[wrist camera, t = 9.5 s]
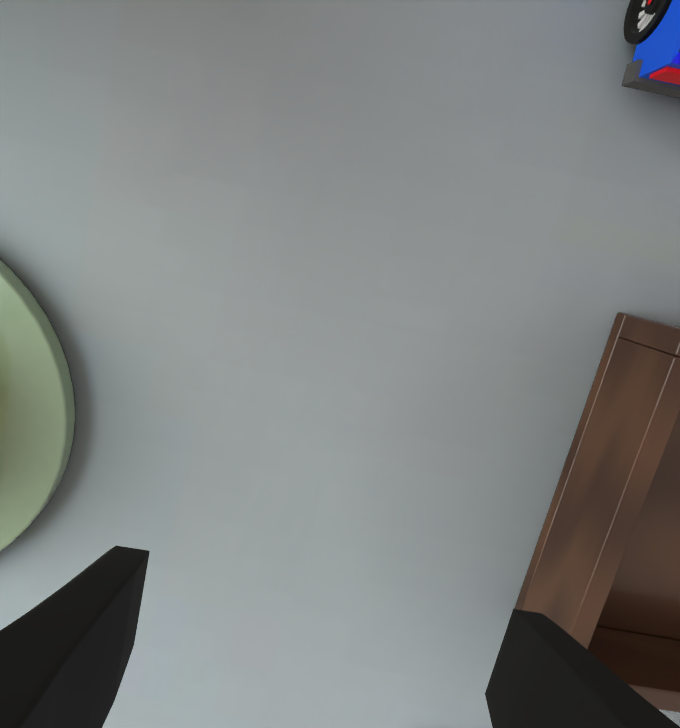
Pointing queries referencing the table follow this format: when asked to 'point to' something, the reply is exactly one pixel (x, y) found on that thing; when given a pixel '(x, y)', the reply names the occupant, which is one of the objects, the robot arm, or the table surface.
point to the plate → (30, 408)
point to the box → (621, 517)
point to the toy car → (654, 46)
